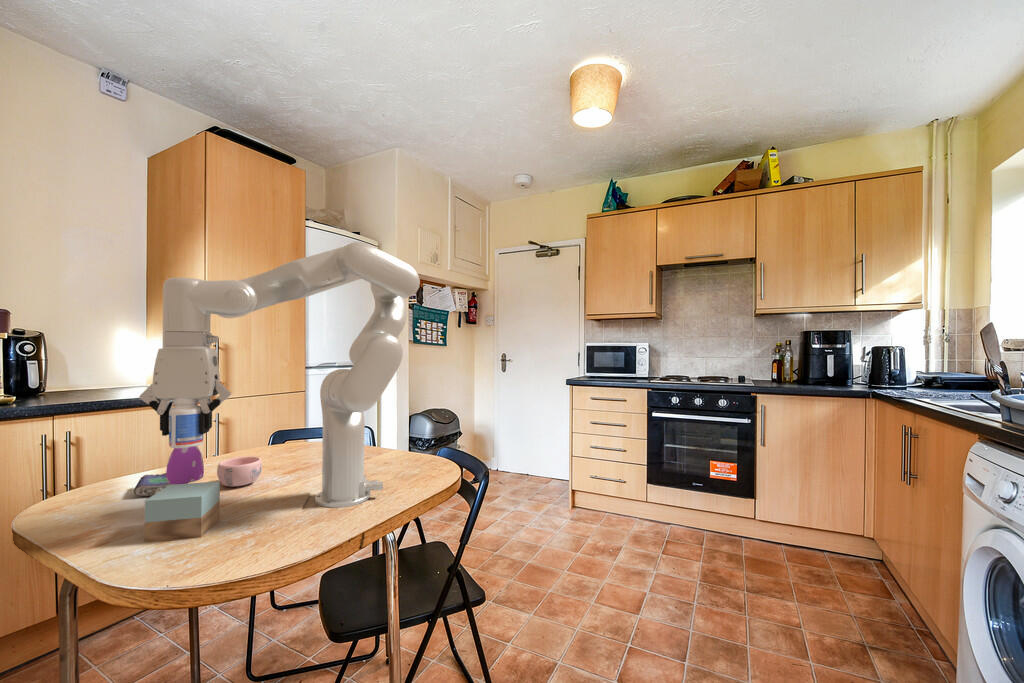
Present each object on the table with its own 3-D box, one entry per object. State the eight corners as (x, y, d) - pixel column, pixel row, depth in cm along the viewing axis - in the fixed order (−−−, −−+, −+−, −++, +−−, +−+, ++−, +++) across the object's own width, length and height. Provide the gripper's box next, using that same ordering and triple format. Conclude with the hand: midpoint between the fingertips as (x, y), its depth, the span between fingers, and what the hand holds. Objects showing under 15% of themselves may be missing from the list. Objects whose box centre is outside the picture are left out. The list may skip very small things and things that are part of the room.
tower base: (219, 519, 90) (219, 500, 90) (201, 538, 82) (201, 517, 82) (168, 524, 88) (169, 504, 88) (144, 544, 79) (144, 522, 79)
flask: (186, 470, 113) (182, 484, 104) (185, 481, 113) (181, 496, 104) (140, 474, 108) (131, 489, 99) (139, 486, 108) (130, 502, 99)
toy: (183, 515, 92) (183, 445, 92) (157, 513, 93) (158, 443, 93) (211, 504, 98) (211, 438, 98) (186, 501, 100) (187, 437, 100)
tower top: (219, 500, 90) (219, 481, 90) (201, 517, 82) (201, 496, 82) (169, 504, 88) (169, 484, 88) (144, 522, 79) (144, 500, 79)
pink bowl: (251, 489, 109) (251, 466, 109) (208, 490, 107) (208, 467, 107) (271, 474, 120) (271, 453, 120) (233, 475, 119) (233, 454, 119)
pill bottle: (210, 442, 87) (210, 394, 87) (185, 449, 81) (186, 398, 81) (186, 441, 88) (187, 393, 88) (161, 448, 82) (161, 397, 82)
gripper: (242, 341, 91) (242, 427, 91) (145, 341, 86) (144, 431, 86) (230, 342, 83) (229, 435, 83) (123, 341, 79) (122, 440, 79)
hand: (186, 432), depth 85 cm, fingers closed on pill bottle, 5 cm apart
